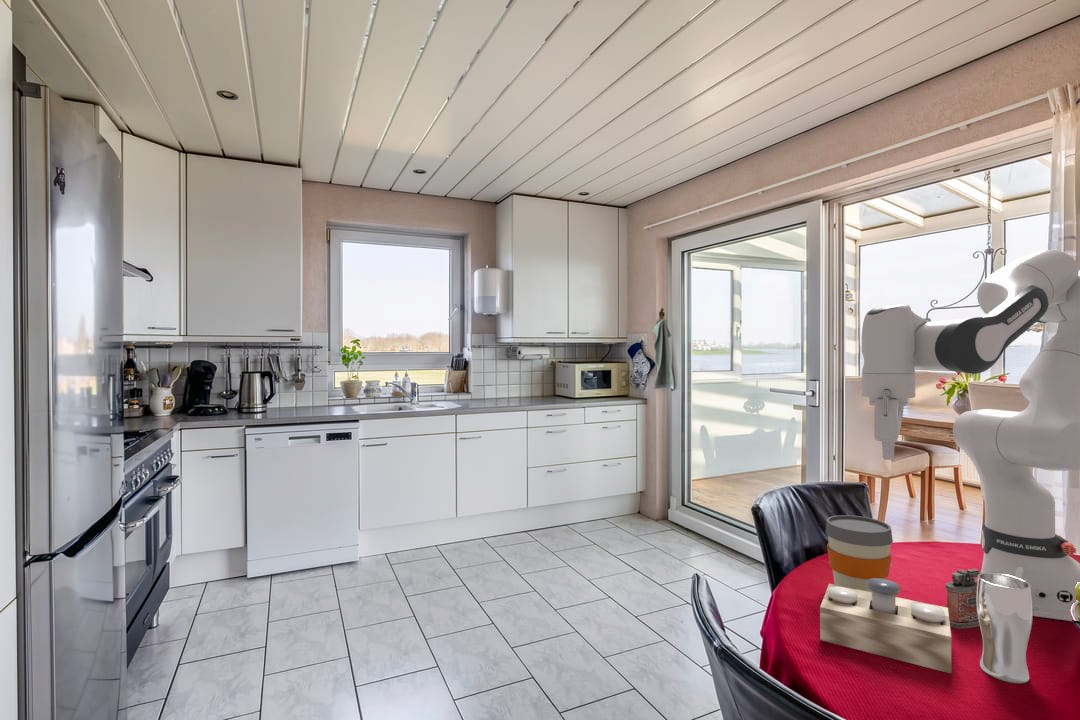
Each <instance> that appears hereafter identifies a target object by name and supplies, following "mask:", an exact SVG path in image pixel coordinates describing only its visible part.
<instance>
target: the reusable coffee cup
mask: <svg viewBox="0 0 1080 720" xmlns="http://www.w3.org/2000/svg"><path fill="white" fill-rule="evenodd" d="M825 534H826V535H827V541H828V543H827V545H826V549H827V553H828V554H827V556H828V562H829V566H830V569H832V575H833V582H834V585H838V586H843V587H848V588H853V589H858V590H863V591H868V592H872V590H870V589H869V588H868V580H869V579H872V578H881V579H886V580H887V578H888V577H889V575H890V569H891V560H892V553H891V544H892V543H894V540H893V532H892V527H891V525H890V524H888V523H887V522H885V521H882V520H879V519H874V518H871V517H868V516H860V515H850V514H849V515H848V514H845V515H844V514H841V515H833V516H829V517H828V518H826V524H825Z"/></svg>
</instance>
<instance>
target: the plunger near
mask: <svg viewBox="0 0 1080 720" xmlns="http://www.w3.org/2000/svg"><path fill="white" fill-rule="evenodd" d="M928 604H929V603H927V604H921V603H917V604H912V605H911V613H912V614H913V615H914V616H915V619H917V620H921V621H926V622H931V623H935V624H940V625H941V622H943V621H945V612H944V611H943V610H942V609H940V608H938V607H935V606H932V605H933V604H932V605H928Z"/></svg>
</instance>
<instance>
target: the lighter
mask: <svg viewBox="0 0 1080 720" xmlns="http://www.w3.org/2000/svg"><path fill="white" fill-rule="evenodd" d="M980 573H981V570H980V571H979V569H978V568H972V569H971V568H970V569H966V570H964V569H961V568H959V569H957V570H956V571H955V572H952V573H951V579H952V581H949V582H946V583H945V585H944V586H945V589H946V607H947V608H948V613H949V622H950V628H955V629H969V628H974V627H980V625H979V620H978V615H977V607H976V591H977V582H978V579H977V578H978V574H980ZM975 578H976V579H975Z"/></svg>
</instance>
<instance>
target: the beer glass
mask: <svg viewBox="0 0 1080 720" xmlns="http://www.w3.org/2000/svg"><path fill="white" fill-rule="evenodd" d="M977 580H978V582H977V591H976V607H977V615H978V620H979V629H980V632H981V634H980V635H981V639H982V651H981V652H982V653H981V656H980V661H979V667H980V669H981V670H982V671H983V672H984V673H985V674H987V675H989V676H990V677H993V678H995V679H996V680H997V679H998V680H999V681H1003V682H1007V683H1011V684H1026V683H1028V682H1029V680H1030V674H1029V669H1028V665H1027V664H1028V663H1027V656H1026V655H1027V648H1028V643H1029V640H1030V635H1031V631H1032V625H1033V617H1034V616H1033V606H1032V596H1031V585H1030V584H1029V583H1028V582H1026V581H1024V580H1022V579H1020V578H1017V577H1014V576H1010V575H1006V574H1001V573H992V572H985V573H981V572H980V574H978V577H977Z"/></svg>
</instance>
